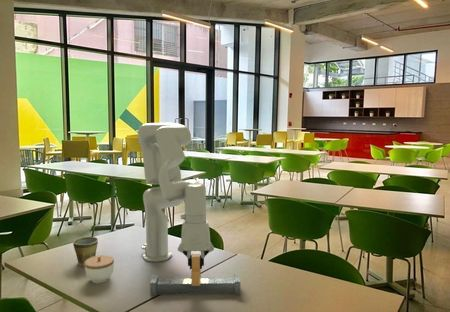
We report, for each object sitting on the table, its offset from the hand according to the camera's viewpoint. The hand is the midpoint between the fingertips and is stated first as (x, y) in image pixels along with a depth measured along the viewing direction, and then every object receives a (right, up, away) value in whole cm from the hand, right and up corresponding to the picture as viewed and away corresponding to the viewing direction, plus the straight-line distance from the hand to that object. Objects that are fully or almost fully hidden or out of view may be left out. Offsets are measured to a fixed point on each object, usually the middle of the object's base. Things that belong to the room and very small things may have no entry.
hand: (196, 267), depth 132 cm
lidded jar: (-38, -8, +10) cm, 41 cm away
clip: (0, -5, +1) cm, 5 cm away
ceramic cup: (-50, -6, +27) cm, 57 cm away
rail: (0, -9, +1) cm, 9 cm away
